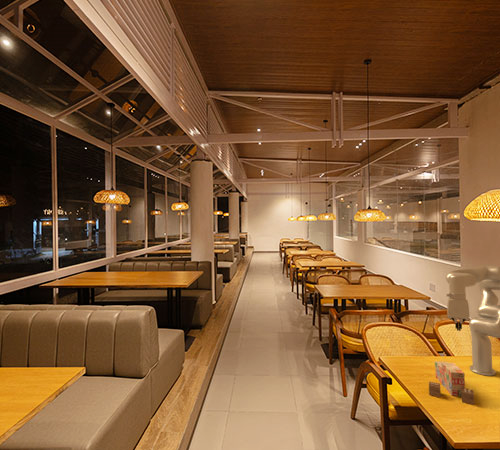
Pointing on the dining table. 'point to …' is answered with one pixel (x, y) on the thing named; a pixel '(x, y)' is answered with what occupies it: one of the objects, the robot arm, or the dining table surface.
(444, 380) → the stack of blocks
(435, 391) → the walnut cube one
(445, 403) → the dining table surface
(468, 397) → the walnut cube two
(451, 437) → the dining table surface
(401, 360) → the dining table surface
